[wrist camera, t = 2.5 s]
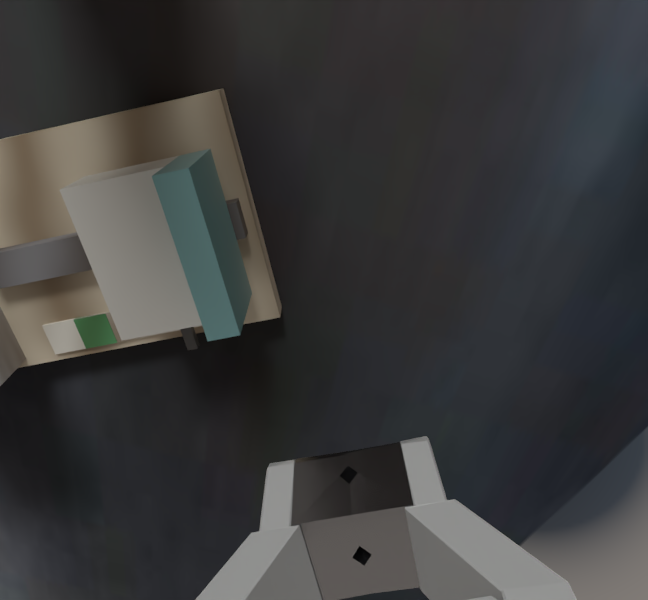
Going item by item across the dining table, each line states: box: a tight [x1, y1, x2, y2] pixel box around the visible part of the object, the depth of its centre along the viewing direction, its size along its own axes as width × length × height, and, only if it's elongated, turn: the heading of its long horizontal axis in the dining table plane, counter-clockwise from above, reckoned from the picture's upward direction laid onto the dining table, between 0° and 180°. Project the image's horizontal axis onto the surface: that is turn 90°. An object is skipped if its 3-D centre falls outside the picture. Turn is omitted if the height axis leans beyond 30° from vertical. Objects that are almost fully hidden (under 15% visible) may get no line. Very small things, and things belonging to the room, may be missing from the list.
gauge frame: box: [0, 88, 282, 386], centre depth 28 cm, size 23×13×10 cm, turn 102°
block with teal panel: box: [60, 149, 252, 350], centre depth 27 cm, size 7×10×5 cm, turn 12°
